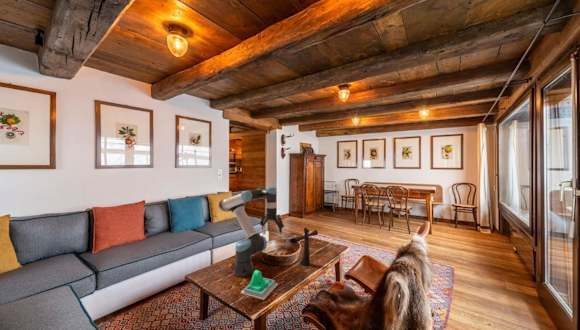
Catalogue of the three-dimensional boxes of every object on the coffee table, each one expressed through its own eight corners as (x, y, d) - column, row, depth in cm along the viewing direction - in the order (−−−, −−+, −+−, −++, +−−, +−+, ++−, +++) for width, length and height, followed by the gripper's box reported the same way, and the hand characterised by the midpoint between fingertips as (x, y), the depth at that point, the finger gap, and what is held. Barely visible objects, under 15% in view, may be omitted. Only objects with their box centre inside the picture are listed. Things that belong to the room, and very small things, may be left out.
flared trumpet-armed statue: (295, 272, 171) (295, 233, 171) (286, 268, 178) (286, 230, 177) (320, 259, 193) (320, 224, 193) (312, 256, 200) (312, 222, 200)
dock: (240, 293, 144) (240, 288, 144) (256, 279, 161) (256, 275, 161) (263, 300, 138) (263, 295, 137) (277, 284, 154) (277, 280, 154)
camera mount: (257, 293, 143) (257, 277, 142) (249, 289, 147) (249, 273, 147) (270, 285, 152) (270, 269, 152) (261, 281, 157) (261, 266, 157)
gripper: (255, 206, 173) (255, 234, 173) (283, 210, 161) (283, 239, 162) (260, 205, 180) (260, 231, 180) (288, 208, 168) (288, 236, 168)
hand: (271, 235), depth 171 cm, fingers open, 13 cm apart
